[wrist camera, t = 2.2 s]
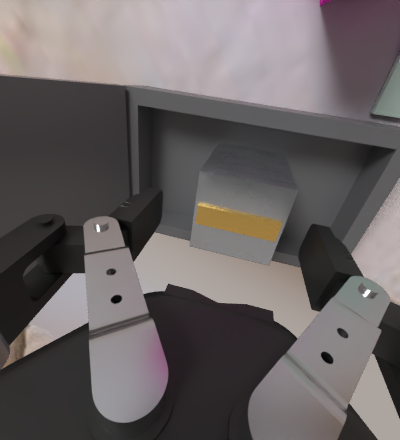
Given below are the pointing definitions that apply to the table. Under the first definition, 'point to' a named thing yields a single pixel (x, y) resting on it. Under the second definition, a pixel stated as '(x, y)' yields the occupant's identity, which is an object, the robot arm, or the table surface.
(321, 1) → the toy block
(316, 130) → the case
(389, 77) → the mat
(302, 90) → the table surface
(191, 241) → the block
